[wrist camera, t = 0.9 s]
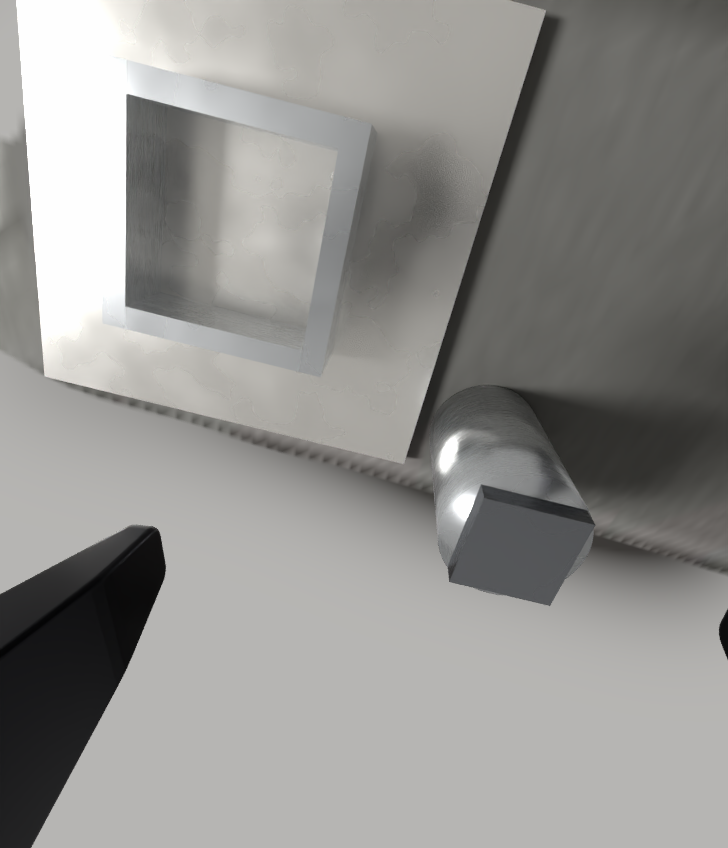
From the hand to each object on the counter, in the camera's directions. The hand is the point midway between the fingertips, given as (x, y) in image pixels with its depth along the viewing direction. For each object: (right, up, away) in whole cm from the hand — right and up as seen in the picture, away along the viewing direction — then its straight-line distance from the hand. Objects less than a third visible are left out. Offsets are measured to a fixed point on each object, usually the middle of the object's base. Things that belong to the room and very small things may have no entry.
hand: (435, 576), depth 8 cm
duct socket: (-5, +10, +10) cm, 15 cm away
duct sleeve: (+4, +2, +13) cm, 14 cm away
